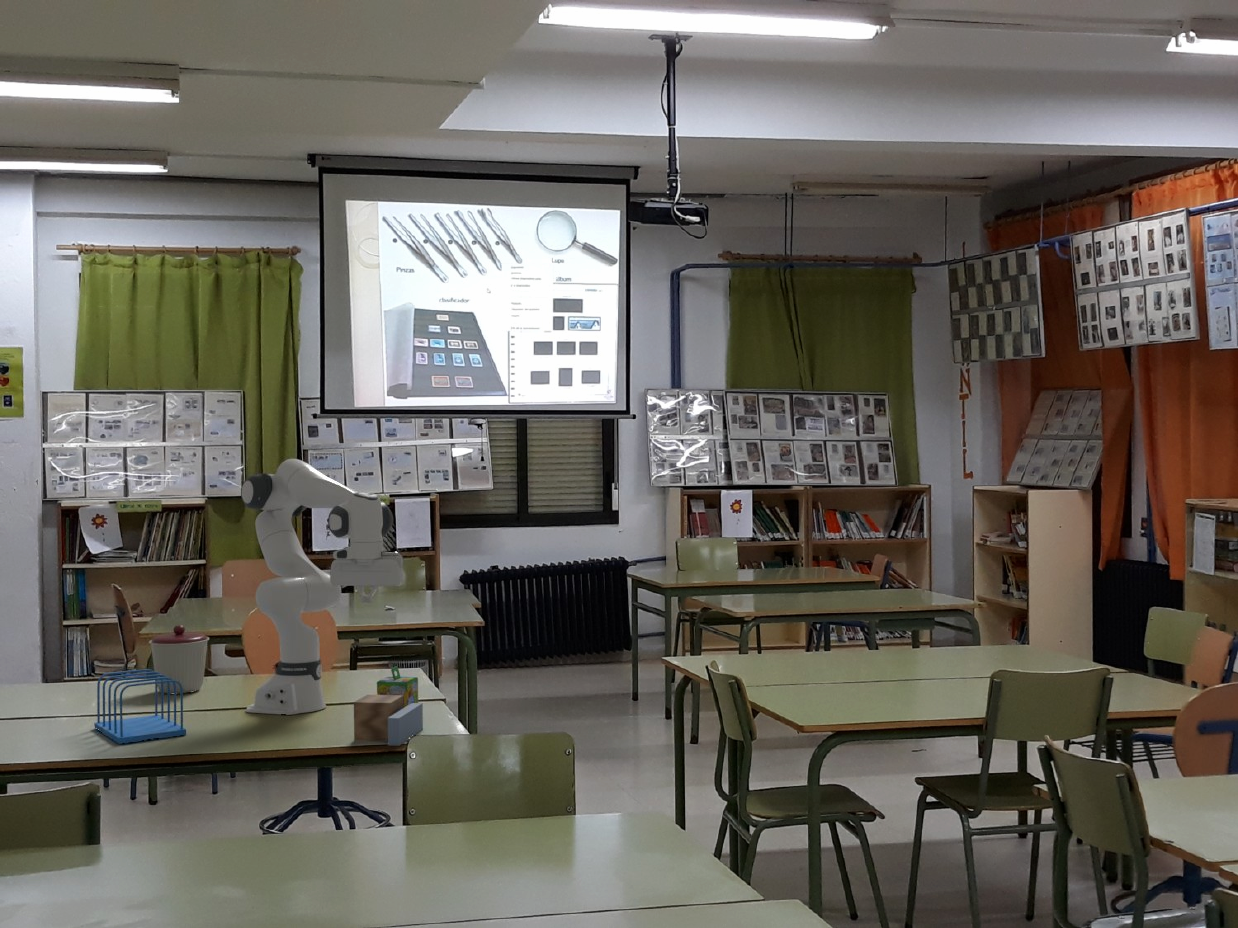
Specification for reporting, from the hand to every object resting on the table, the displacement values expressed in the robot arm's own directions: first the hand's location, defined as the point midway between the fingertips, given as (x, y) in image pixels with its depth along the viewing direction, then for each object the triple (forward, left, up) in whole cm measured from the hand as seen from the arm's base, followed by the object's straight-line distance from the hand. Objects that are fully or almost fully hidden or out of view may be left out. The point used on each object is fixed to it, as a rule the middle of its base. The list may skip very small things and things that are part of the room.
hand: (367, 602), depth 341 cm
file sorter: (-59, -15, -34) cm, 70 cm away
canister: (-78, +40, -34) cm, 94 cm away
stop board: (+15, -14, -34) cm, 39 cm away
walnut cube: (+8, -13, -34) cm, 37 cm away
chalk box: (+6, +6, -34) cm, 35 cm away
